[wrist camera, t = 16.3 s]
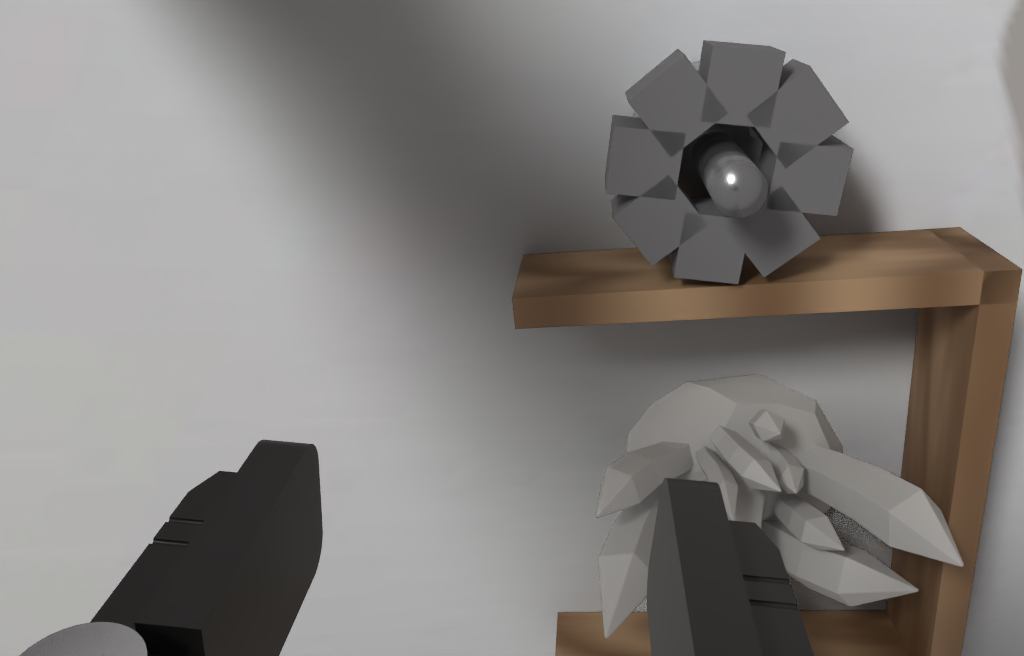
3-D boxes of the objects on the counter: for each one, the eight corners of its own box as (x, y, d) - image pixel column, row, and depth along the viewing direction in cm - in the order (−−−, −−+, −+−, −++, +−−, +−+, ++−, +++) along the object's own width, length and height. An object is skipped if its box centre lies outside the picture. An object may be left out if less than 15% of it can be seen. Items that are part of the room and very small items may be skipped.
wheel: (622, 33, 27) (625, 38, 25) (852, 53, 27) (875, 60, 24) (596, 248, 30) (596, 269, 28) (801, 269, 30) (817, 292, 27)
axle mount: (638, 53, 30) (653, 76, 23) (801, 67, 30) (869, 96, 22) (618, 209, 32) (624, 275, 25) (768, 224, 32) (819, 296, 25)
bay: (559, 630, 41) (555, 711, 37) (523, 255, 33) (512, 298, 29) (909, 629, 39) (951, 714, 35) (959, 227, 31) (1022, 269, 27)
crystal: (905, 525, 37) (1088, 845, 23) (626, 577, 40) (643, 890, 26) (875, 337, 34) (1067, 581, 20) (571, 407, 36) (556, 666, 23)
